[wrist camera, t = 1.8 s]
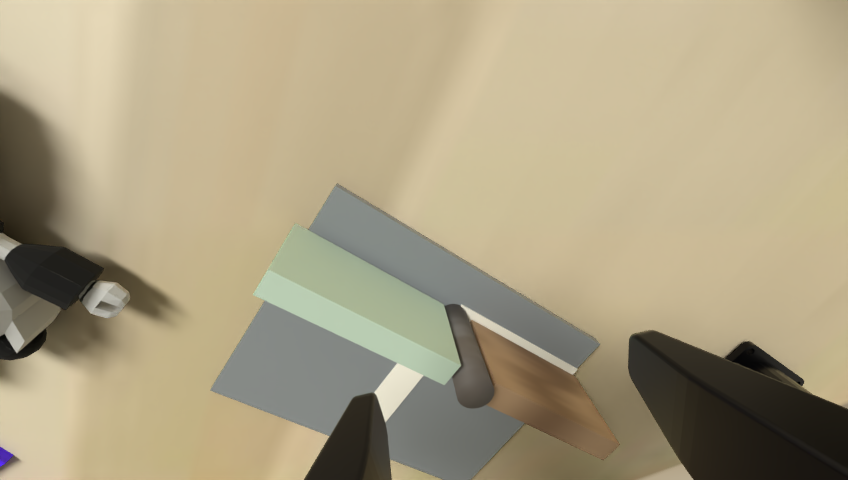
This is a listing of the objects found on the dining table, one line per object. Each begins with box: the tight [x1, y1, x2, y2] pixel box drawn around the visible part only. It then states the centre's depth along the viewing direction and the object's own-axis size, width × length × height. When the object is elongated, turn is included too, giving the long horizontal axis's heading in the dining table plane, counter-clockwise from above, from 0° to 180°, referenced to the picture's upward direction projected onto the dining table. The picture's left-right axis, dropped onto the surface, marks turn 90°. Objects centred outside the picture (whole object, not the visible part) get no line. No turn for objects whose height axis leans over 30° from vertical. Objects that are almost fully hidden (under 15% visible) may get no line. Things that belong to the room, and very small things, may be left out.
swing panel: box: [253, 223, 461, 385], centre depth 17 cm, size 9×1×5 cm, turn 56°
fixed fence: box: [444, 304, 620, 460], centre depth 20 cm, size 10×2×6 cm, turn 56°
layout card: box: [210, 184, 600, 480], centre depth 23 cm, size 18×14×1 cm
